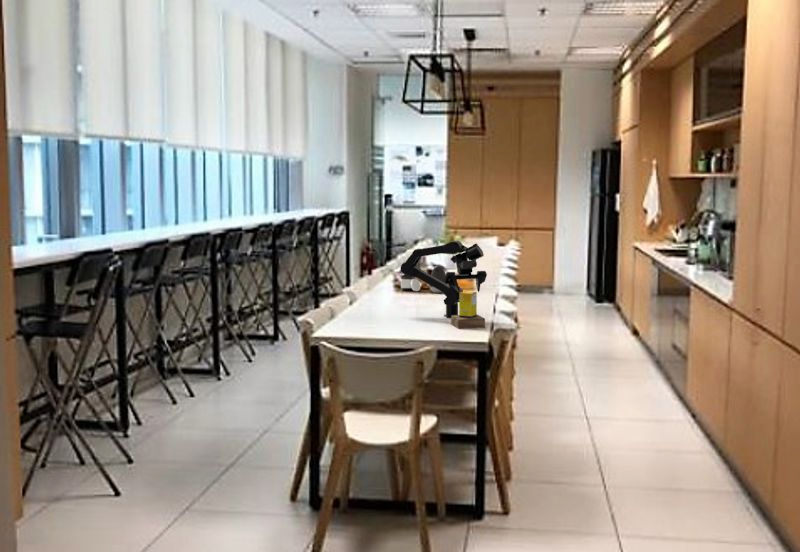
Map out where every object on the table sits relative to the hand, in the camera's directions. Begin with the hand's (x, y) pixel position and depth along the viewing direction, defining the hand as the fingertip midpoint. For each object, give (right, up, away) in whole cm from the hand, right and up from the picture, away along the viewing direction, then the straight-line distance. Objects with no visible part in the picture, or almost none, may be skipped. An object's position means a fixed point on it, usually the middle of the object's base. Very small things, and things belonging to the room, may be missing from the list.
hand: (469, 291), depth 415 cm
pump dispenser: (-10, -2, +100) cm, 100 cm away
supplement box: (-1, -11, -10) cm, 15 cm away
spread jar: (-25, -1, +109) cm, 111 cm away
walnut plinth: (-1, -15, -9) cm, 18 cm away
